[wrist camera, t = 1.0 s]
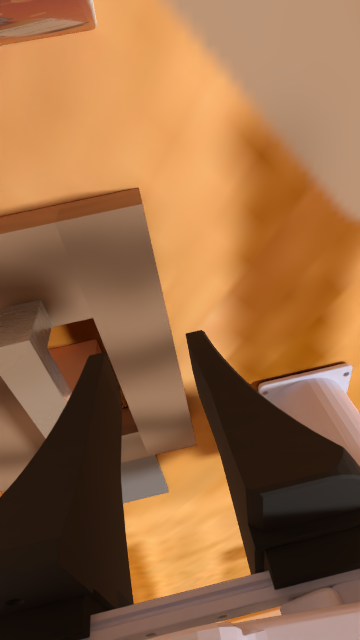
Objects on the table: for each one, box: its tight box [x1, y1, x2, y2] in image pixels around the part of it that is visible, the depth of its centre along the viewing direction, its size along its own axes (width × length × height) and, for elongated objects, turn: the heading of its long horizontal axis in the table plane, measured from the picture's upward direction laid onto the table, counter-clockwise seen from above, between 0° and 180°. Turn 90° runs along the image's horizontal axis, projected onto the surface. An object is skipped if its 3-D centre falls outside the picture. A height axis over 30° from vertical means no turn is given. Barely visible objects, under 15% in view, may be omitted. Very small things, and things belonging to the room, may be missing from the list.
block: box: [49, 339, 102, 392], centre depth 22 cm, size 4×4×4 cm
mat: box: [121, 455, 169, 503], centre depth 33 cm, size 10×10×1 cm
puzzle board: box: [0, 188, 197, 491], centre depth 22 cm, size 20×16×2 cm
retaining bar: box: [0, 300, 72, 438], centre depth 20 cm, size 15×2×3 cm, turn 9°
